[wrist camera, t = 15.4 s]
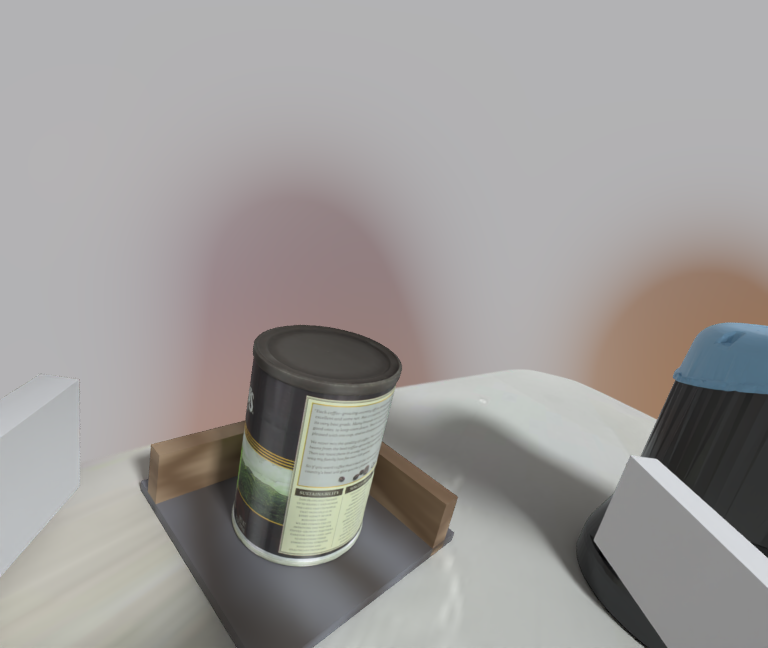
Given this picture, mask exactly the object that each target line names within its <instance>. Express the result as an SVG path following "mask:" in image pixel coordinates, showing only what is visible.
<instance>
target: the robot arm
mask: <svg viewBox="0 0 768 648" xmlns="http://www.w3.org/2000/svg"><path fill="white" fill-rule="evenodd" d="M673 378H674V379H675V382H674V384H673V387H672V389H671V391H670V393H669V395H668V398H667V400H666V402H665V404H664V406H663V408H662V411H661V413H660V415H659V417H658V419H657V421H656V424H655V426H654V428H653V430H652V432H651V434H650V437H649V439H648V441H647V443H646V445H645V447H644V450H643V452H642V454H641V456H640V457H639V456H631V455H630V458H629V460H628V462H627V464H626V467H625V469H624V471H623V474H622V476H621V478H620V481H619V483H618V485H617V487H616V490H615V492H614V494H613V495H611V496H610V497H609V498H608V499H607V500H606V501H605V502H604V503H603V504H602V505H601V506H600V507H599V508H597V509H596V510H595V511H594V512H593V513H592V514H591V515H590V517H589V518H588V519H587V521H586V523H585V525H584V527H583V530H582V532H581V534H580V537H579V539H578V542H577V557H578V562H579V565H580V568H581V570H582V572H583V574H584V577H585V578H586V580H587V582H588V584H589V585H590V587H591V589H592V590H593V592H594V593H595V594H596V596H597V597H598V598H599V600H600V601H601V602H602V604H603V605H604V606H605V607H606V608H607V609H608V611H609V612H610V613H611V614H612V615H613V616H614V617H615V618H616V619H617V620H618V621H619V622H620V623H621V624H622V625H623V626H624V627H625V628H626V629H627V630H628V631H629V632H630V633H632V634H633V635H634V636H635V637H636V638H637V639H638V640H640V641H641V642H642V643H643V644H645V645H646V646H647V647H648V648H768V326H763V325H755V324H745V323H721V324H716V325H712V326H709V327H707V328H705V329H704V330H703V331H701V332H700V333H699V334H698V335H697V337H696V338H695V340H694V342H693V343H692V345H691V347H690V349H689V351H688V353H687V355H686V357H685V359H684V361H683V362H682V365H681V366H680V368H678V369H676V371H675V372H674V375H673ZM79 486H80V379H75V378H68V377H61V376H54V375H45V374H39V375H38V376H36V377H35V378H33V379H31V380H30V381H28V382H27V383H25V384H24V385H22V386H20V387H19V388H17V389H16V390H14V391H12V392H11V393H9V394H8V395H6V396H4V397H3V398H1V399H0V577H1V576H2V575H3V573H4V572H5V571H6V570H7V569H8V568H9V567H10V565H11V564H12V563H13V562H14V561H15V560H16V559H17V557H18V556H19V555H20V554H21V553H22V552H23V551H24V549H25V548H26V547H27V546H28V545H29V544H30V543H31V541H32V540H33V539H34V538H35V537H36V536H37V535H38V533H39V532H40V531H41V530H42V529H43V528H44V526H45V525H46V524H47V523H48V522H49V521H50V520H51V518H52V517H53V516H54V515H55V514H56V513H57V512H58V510H59V509H60V508H61V507H62V506H63V505H64V504H65V502H66V501H67V500H68V499H69V498H70V497H71V496H72V494H73V493H74V492H75V491H76V490H77V489H78V488H79Z"/></svg>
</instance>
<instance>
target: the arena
mask: <svg viewBox="0 0 768 648" xmlns="http://www.w3.org/2000/svg"><path fill="white" fill-rule="evenodd" d="M244 428H245V421H242V422H238V423H234V424H230V425H226V426H222V427H218V428H214V429H210V430H206V431H202V432H198V433H194V434H190V435H186V436H182V437H178V438H174V439H171V440H167V441H163V442H159V443H155V444H151V453H150V467H149V479H147V480H143V481H141V491H142V493H143V494H144V496H145V497H146V499H147V501H148V502H149V504H150V506H151V507H152V509H153V511H154V512H155V514H156V515H157V517H158V519H159V520H160V522H161V524H162V525H163V527H164V529H165V530H166V532H167V533H168V535H169V537H170V538H171V540H172V542H173V543H174V545H175V547H176V548H177V550H178V552H179V553H180V555H181V556H182V558H183V560H184V561H185V563H186V565H187V566H188V568H189V570H190V571H191V573H192V574H193V576H194V578H195V579H196V581H197V583H198V584H199V586H200V588H201V589H202V591H203V592H204V594H205V596H206V597H207V599H208V601H209V602H210V604H211V606H212V607H213V609H214V610H215V612H216V614H217V615H218V617H219V619H220V620H221V622H222V624H223V625H224V627H225V629H226V630H227V632H228V633H229V635H230V637H231V638H232V640H233V642H234V643H235V645H236V647H237V648H312V647H314V646H315V645H316V644H318V643H319V642H320V641H321V640H323V639H324V638H325V637H327V636H328V635H329V634H331V633H332V632H333V631H334V630H336V629H337V628H338V627H340V626H341V625H342V624H344V623H345V622H346V621H347V620H349V619H350V618H351V617H353V616H354V615H355V614H357V613H358V612H359V611H360V610H362V609H363V608H364V607H366V606H367V605H368V604H370V603H371V602H372V601H373V600H375V599H376V598H377V597H379V596H380V595H381V594H383V593H384V592H385V591H386V590H388V589H389V588H390V587H392V586H393V585H394V584H396V583H397V582H398V581H399V580H401V579H402V578H403V577H405V576H406V575H407V574H408V573H410V572H411V571H412V570H414V569H415V568H416V567H418V566H419V565H420V564H421V563H423V562H424V561H425V560H427V559H428V558H429V557H431V556H432V555H433V554H434V553H436V552H437V551H438V550H440V549H441V548H442V547H444V546H445V545H446V544H447V543H449V542H450V541H451V540H452V538H453V535H454V532H453V531H452V530H450V529H449V528H448V527H449V524H450V521H451V518H452V514H453V511H454V508H455V505H456V502H457V498H458V497H457V496H456V495H455V494H453V493H452V492H450V491H449V490H448V489H446V488H445V487H444V486H442V485H441V484H440V483H438V482H437V481H435V480H434V479H433V478H431V477H430V476H429V475H427V474H426V473H424V472H423V471H422V470H420V469H419V468H418V467H416V466H415V465H414V464H412V463H411V462H409V461H408V460H407V459H405V458H404V457H403V456H401V455H400V454H398V453H397V452H396V451H394V450H393V449H392V448H390V447H389V446H388V445H386V444H385V443H383V442H382V443H381V447H380V451H379V455H378V459H377V463H376V467H375V471H374V475H373V479H372V483H371V487H370V491H369V496H368V499H367V503H366V507H365V511H364V516H363V523H362V529H361V532H360V534H359V536H358V538H357V540H356V542H355V543H354V544H353V546H352V547H351V548H350V549H349V550H348V551H346V552H345V553H343V554H342V555H341V556H339V557H338V558H336V559H334V560H331V561H329V562H326V563H322V564H318V565H313V566H306V567H296V566H285V565H281V564H277V563H274V562H270V561H268V560H265V559H263V558H261V557H259V556H258V555H256V554H254V553H253V552H252V551H250V550H249V549H248V548H247V547H246V546H245V545H244V544H243V543H242V542H241V541H240V539H239V538H238V536H237V535H236V533H235V530H234V527H233V523H232V508H233V504H234V501H235V494H236V486H237V479H238V472H239V465H240V458H241V450H242V443H243V435H244Z"/></svg>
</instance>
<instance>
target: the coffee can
mask: <svg viewBox="0 0 768 648" xmlns="http://www.w3.org/2000/svg"><path fill="white" fill-rule="evenodd" d="M253 356H254V359H253V366H252V374H251V382H250V389H249V396H248V404H247V412H246V420H245V428H244V435H243V443H242V450H241V458H240V465H239V472H238V479H237V486H236V494H235V501H234V504H233V508H232V523H233V527H234V530H235V533H236V535H237V536H238V538H239V539H240V541H241V542H242V543H243V544H244V545H245V546H246V547H247V548H248V549H249V550H250V551H252V552H253V553H254V554H256V555H258V556H259V557H261V558H263V559H265V560H268V561H270V562H274V563H277V564H281V565H285V566H296V567H306V566H313V565H318V564H322V563H326V562H329V561H331V560H334V559H336V558H338V557H339V556H341V555H342V554H343V553H345V552H346V551H348V550H349V549H350V548H351V547H352V546H353V544H354V543H355V542H356V540H357V538H358V536H359V534H360V532H361V529H362V523H363V516H364V511H365V507H366V503H367V499H368V496H369V491H370V487H371V483H372V479H373V475H374V471H375V467H376V463H377V459H378V455H379V451H380V447H381V443H382V439H383V435H384V431H385V427H386V423H387V419H388V415H389V410H390V406H391V402H392V398H393V394H394V390H395V386H396V382H397V381H398V380H399V377H400V374H401V371H402V365H401V362H400V360H399V358H398V357H397V356H396V355H395V354H394V353H393V352H392V351H390V350H389V349H388V348H386V347H385V346H383V345H382V344H380V343H378V342H376V341H374V340H372V339H370V338H367V337H364V336H362V335H359V334H356V333H352V332H348V331H345V330H340V329H335V328H330V327H322V326H310V325H294V326H284V327H278V328H273V329H270V330H267V331H265V332H263V333H262V334H260V335H259V336H258V337H257V338H256V339H255V341H254V346H253Z"/></svg>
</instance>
